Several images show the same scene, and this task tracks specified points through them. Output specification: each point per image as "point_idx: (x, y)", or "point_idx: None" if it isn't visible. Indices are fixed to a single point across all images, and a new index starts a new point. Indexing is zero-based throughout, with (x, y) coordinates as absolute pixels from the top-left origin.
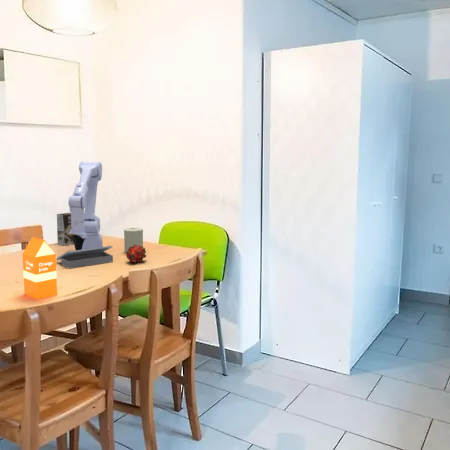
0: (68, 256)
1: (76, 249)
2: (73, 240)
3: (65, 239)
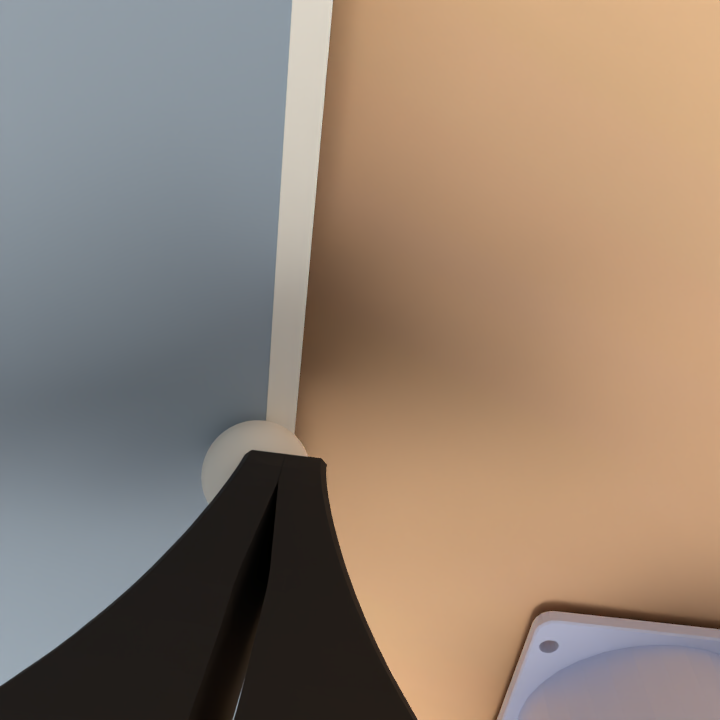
0: (2, 63)
1: (233, 480)
2: (248, 703)
3: None
